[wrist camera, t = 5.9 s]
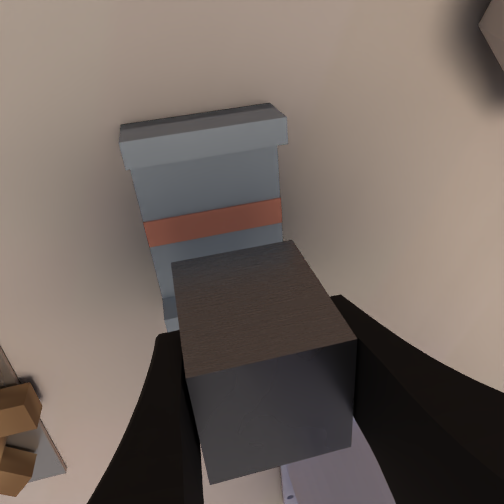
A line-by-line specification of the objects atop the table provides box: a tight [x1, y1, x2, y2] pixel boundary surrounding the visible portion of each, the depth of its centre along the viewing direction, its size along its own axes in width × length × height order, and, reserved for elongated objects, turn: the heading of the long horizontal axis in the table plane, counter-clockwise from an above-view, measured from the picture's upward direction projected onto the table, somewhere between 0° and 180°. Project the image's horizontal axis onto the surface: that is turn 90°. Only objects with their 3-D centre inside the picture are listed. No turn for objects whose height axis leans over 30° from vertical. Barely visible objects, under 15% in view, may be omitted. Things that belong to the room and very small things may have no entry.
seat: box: [119, 103, 288, 332], centre depth 19 cm, size 9×6×2 cm, turn 5°
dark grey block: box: [171, 240, 357, 485], centre depth 13 cm, size 4×4×5 cm
